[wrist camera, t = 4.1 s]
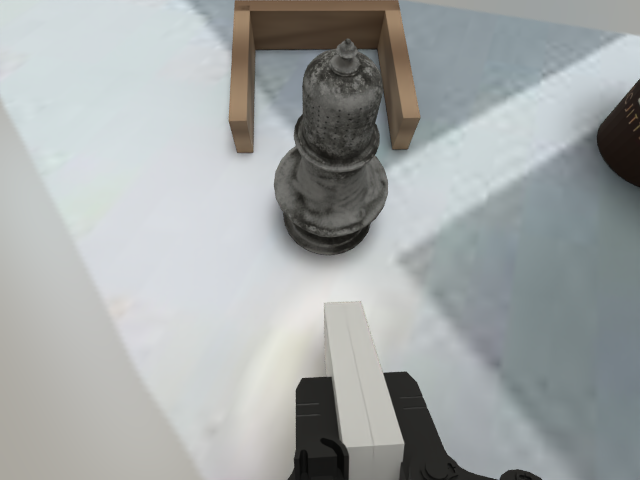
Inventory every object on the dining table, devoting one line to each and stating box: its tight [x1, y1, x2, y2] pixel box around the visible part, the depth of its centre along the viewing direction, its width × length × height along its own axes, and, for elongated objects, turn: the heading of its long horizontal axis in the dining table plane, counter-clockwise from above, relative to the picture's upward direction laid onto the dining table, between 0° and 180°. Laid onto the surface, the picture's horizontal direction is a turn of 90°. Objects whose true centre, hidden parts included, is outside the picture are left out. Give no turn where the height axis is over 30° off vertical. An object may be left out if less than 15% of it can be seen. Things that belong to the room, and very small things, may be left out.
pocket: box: [229, 0, 420, 153], centre depth 25 cm, size 10×11×3 cm
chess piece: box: [274, 38, 388, 255], centre depth 17 cm, size 6×6×12 cm
